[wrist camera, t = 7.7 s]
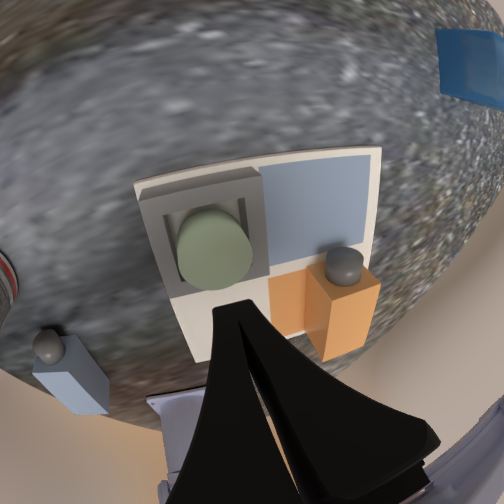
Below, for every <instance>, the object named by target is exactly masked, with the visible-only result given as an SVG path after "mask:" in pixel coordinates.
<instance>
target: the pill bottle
mask: <svg viewBox="0 0 504 504" xmlns="http://www.w3.org/2000/svg"><path fill="white" fill-rule="evenodd" d="M17 291H18V286H17V280H16V276H15V273H14V271H13V269H12V267H11V265H10V264H9V262H8V261H7V259H6V258H5V257H4V256H3V255H2V254H1V253H0V331H1V328H2V326H3V324H4V322H5V320H6V318H7V315H8V313H9V311H10V309H11V307H12V305H13V303H14V301H15V299H16V297H17Z"/></svg>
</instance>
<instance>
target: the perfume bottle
mask: <svg viewBox="0 0 504 504" xmlns="http://www.w3.org/2000/svg"><path fill="white" fill-rule="evenodd" d="M435 31H436V38H437V46H438V56H439V70H440V93H443V94H446V95H450V96H453V97H456V98H459V99H462V100H465V101H468V102H471V103H475V104H479V105H482V106H486V107H489V108H493V109H496V110H499V111H502V112H504V38H503V37H501V36H499V35H498V34H496V33H495V32H491V31H481V30H465V29H435Z"/></svg>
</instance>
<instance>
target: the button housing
mask: <svg viewBox="0 0 504 504" xmlns="http://www.w3.org/2000/svg"><path fill="white" fill-rule="evenodd" d="M234 199H238V205H239V213H240V221H241V228H242V229H243V231H244V233H245V235H246V237H247V239H248V240H249V242H250V244H251V247H252V251H253V258H252V263H251V266H250V268H249V270H248V272H247V273H246V275H245V276H244V277H243V278H242V279H241V280H240V281H239V282H237V283H240V282H244V281H248V280H252V279H256V278H260V277H264V276H268V275H270V268H269V255H268V241H267V228H266V216H265V204H264V192H263V180H262V175H261V174H260V173H259V172H258V171H256V170H255V169H254V168H253V167H252V166H250V167H244V168H238V169H233V170H227V171H222V172H216V173H211V174H206V175H201V176H196V177H192V178H187V179H182V180H178V181H174V182H169V183H165V184H161V185H157V186H153V187H149V188H145V189H142V191H141V194H140V197H139V200H138V204H139V207H140V211H141V214H142V218H143V221H144V225H145V228H146V231H147V235H148V238H149V241H150V244H151V247H152V250H153V254H154V257H155V260H156V263H157V265H158V268H159V271H160V274H161V277H162V280H163V283H164V285H165V288H166V291H167V294H168V296H169V299H172V298H176V297H181V296H185V295H189V294H194V293H198V292H202V291H206V290H202V289H199V288H196V287H194V286H192V285H191V284H189V283H188V282H187V281H186V280H185V279H184V278H183V276H182V275H181V273H180V270H179V267H178V257H177V253H176V249H175V245H174V242H173V238H172V234H171V231H170V227H169V223H168V219H167V215H166V214H170V213H174V212H179V211H183V210H187V209H192V208H196V207H201V206H205V205H210V204H215V203H220V202H224V201H229V200H234Z"/></svg>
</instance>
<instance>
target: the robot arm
mask: <svg viewBox="0 0 504 504" xmlns="http://www.w3.org/2000/svg"><path fill="white" fill-rule="evenodd" d="M212 316H213V337H212V349H211V358H210V366H209V372H208V377H207V383H206V387H202V388H197V389H192V390H187V391H181V392H176V393H170V394H164V395H158V396H151V397H147V398H146V401H147V403H148V404H149V405H150V406H151V407H152V408H153V409H154V410H155V412H156V413H157V414H158V415H159V416H160V418H161V426H162V434H163V442H164V448H165V455H166V461H167V467H168V474H167V476H168V481H169V483H168V481H167V480H162V481H161V483H160V484H159V485H158V497H159V503H160V504H496V502H497V501H498V499H499V498H500V496H501V495H502V493H503V492H504V395H503V396H502V397H501V398H499V399H498V400H497V401H496V402H495V403H494V404H493V405H492V406H491V407H490V408H489V409H488V410H487V411H486V412H485V413H484V414H483V415H482V416H481V417H480V418H479V422H478V423H477V424H476V425H475V426H474V427H473V428H472V429H471V430H470V431H469V432H468V433H466V434H465V435H464V436H463V437H462V438H461V439H460V440H459V441H458V442H457V443H455V444H454V445H453V446H452V447H451V448H449V449H448V450H447V451H446V452H445V453H443V454H442V455H441V456H440V457H438V458H437V459H436V460H435V461H433V462H432V463H431V464H429V465H428V466H427V467H425V468H424V469H423V468H422V466H423V465H425V462H424V461H423V459H424V458H425V457H426V456H428V455H429V454H430V453H432V452H433V451H434V450H435V449H437V448H438V447H439V446H440V443H441V441H440V440H439V438H438V436H437V435H436V433H435V432H434V430H433V429H432V428H431V427H430V426H429V425H428V424H427V422H426V421H425V420H423V419H420V418H417V417H414V416H411V415H408V414H405V413H403V412H400V411H398V410H395V409H393V408H390V407H388V406H385V405H383V404H381V403H379V402H377V401H375V400H372V399H371V398H369V397H367V396H365V395H363V394H361V393H360V392H358V391H356V390H354V389H352V388H351V387H349V386H347V385H345V384H344V383H342V382H341V381H339V380H338V379H336V378H334V377H333V376H331V375H330V374H329V373H327V372H326V371H324V370H323V369H322V368H320V367H319V366H317V365H316V364H315V363H314V362H312V361H311V360H310V359H309V358H307V357H306V356H305V355H304V354H303V353H301V352H300V351H299V350H298V349H297V348H296V347H295V346H293V345H292V344H291V343H290V342H289V341H288V340H287V339H286V338H285V337H284V336H283V335H282V334H281V333H280V332H279V331H278V330H277V329H276V328H275V327H274V326H273V325H272V324H271V323H270V322H269V320H268V319H267V318H266V317H265V316H264V315H263V314H262V312H261V311H260V310H259V309H258V307H257V306H256V305H255V303H254V302H253V300H251V299H246V300H242V301H238V302H234V303H230V304H226V305H221V306H217V307H214V308H213V309H212ZM249 371H250V372H249ZM250 373H251V375H252V377H253V380H254V382H255V384H256V386H257V388H258V391H259V393H260V395H261V397H262V399H263V401H264V404H265V406H266V408H267V410H268V412H269V414H270V417H271V419H272V421H273V424H274V427H275V429H276V432H277V435H278V437H279V440H280V443H281V445H282V448H283V451H284V454H285V457H286V459H287V462H288V464H289V467H290V470H291V473H292V475H293V478H294V481H295V483H296V486H297V489H298V490H297V489H296V486H295V484H294V482H293V480H292V478H291V475H290V473H289V471H288V469H287V467H286V465H285V462H284V460H283V458H282V455H281V453H280V451H279V449H278V446H277V444H276V442H275V439H274V437H273V434H272V432H271V429H270V427H269V424H268V422H267V419H266V417H265V414H264V412H263V409H262V406H261V404H260V401H259V398H258V396H257V393H256V390H255V388H254V385H253V382H252V379H251V376H250ZM424 488H425V491H422V492H420V491H421V490H423V489H424ZM298 492H299V493H298ZM418 492H420V493H418ZM417 493H418V494H417ZM299 494H300V495H299Z"/></svg>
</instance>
